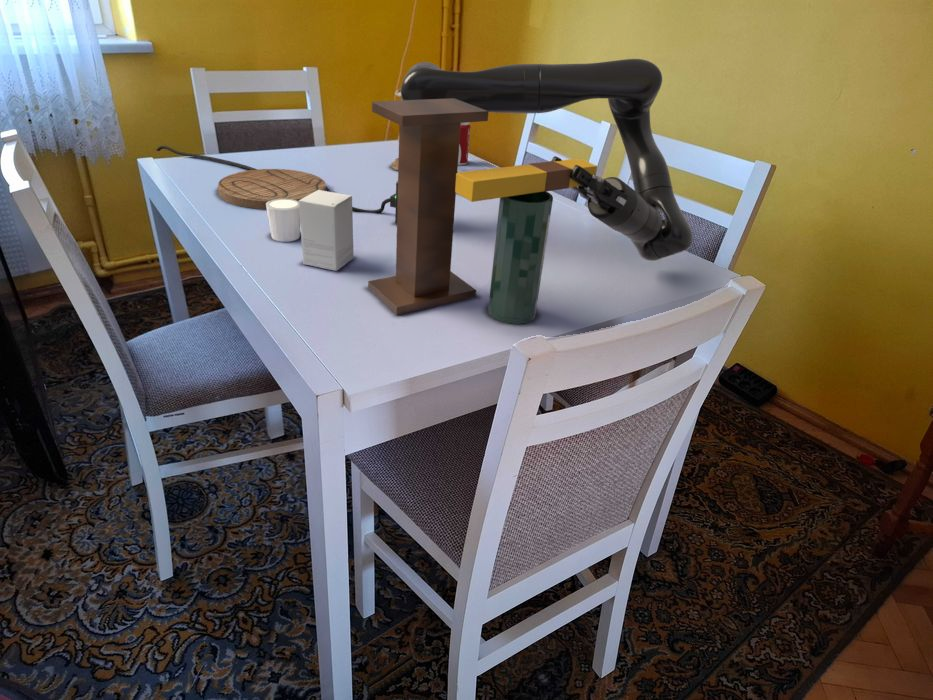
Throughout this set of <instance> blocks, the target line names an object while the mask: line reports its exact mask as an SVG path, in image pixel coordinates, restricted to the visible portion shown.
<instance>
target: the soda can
mask: <svg viewBox="0 0 933 700" xmlns="http://www.w3.org/2000/svg"><path fill="white" fill-rule="evenodd" d="M470 123H471V122H466V123H461V127H460V141H459V155H458V166H466V165H467V164H468V162H469V149H470V138H471V124H470Z"/></svg>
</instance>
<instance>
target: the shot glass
mask: <svg viewBox="0 0 933 700" xmlns="http://www.w3.org/2000/svg"><path fill="white" fill-rule="evenodd" d="M266 208H267V209H266V214H267V219H268V222H269V223H268V225H269V230H270V235H271V239H273V240H274V241H277V242H282V243H283V242H285V243H286V242H289V243H290V242H294V241H297V240H299V238H301V224H300V210H299V202H298V201H296V200H293V199H275V200H271V201H268V202H267V203H266Z"/></svg>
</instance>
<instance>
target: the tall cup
mask: <svg viewBox="0 0 933 700" xmlns="http://www.w3.org/2000/svg"><path fill="white" fill-rule="evenodd" d="M553 202H554V197H553V194H552V193H550V191H546V192H544V191H543V192H536V193H529V194H523V195H516V196H509V197H502V198H499V201H498V203H499V204H498V210H497V211H498V213H497V222H496V230H495V231H496V232H495V241H494V250H493V257H492V258H493V260H492V270H491V279H490V287H489V297H488V308H487V311H488V314H489V315H490V316H491V318H492V319H495V320H497V321H498V322H502V323H506V324H509V325H510V324H512V325H523V324H526V323H529V322H531V321H533V320H534V319H535V317H536V312H537V308H538V302H539V296H540V289H541V283H542V282H541V281H542V276H543V269H544V260H545V254H546V247H547V242H548V241H547V240H548V235H549V228H550V221H551V215H552V208H553Z"/></svg>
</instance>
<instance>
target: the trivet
mask: <svg viewBox="0 0 933 700" xmlns="http://www.w3.org/2000/svg"><path fill="white" fill-rule="evenodd" d="M257 169H258V168H257ZM217 190H218V196H219V197H220V198H221V199H222V200H223V201H225V202H227V203H229V204H232V205H235V206H239V207H242V208H243V207H244V208H250V209H257V210H267V208H266V203H267V202H268V201H271V200H275V199H293V200H296V201H298V202H299V200H301V199H303V198H304V197H306V196H308V195H310V194H311V193H313V192H315V191H317V190H322V191H327V183H326V181H325V180H324V179H323V178H321V177H320V176H318V175H316V174H313V173H309V172H305V171H301V170H294V169H283V168H259V169H258V170H244V171H238V172H235V173H231V174H228V175H226V176H224V177H222V178H221V179H220V180H219V181H218V183H217Z"/></svg>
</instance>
